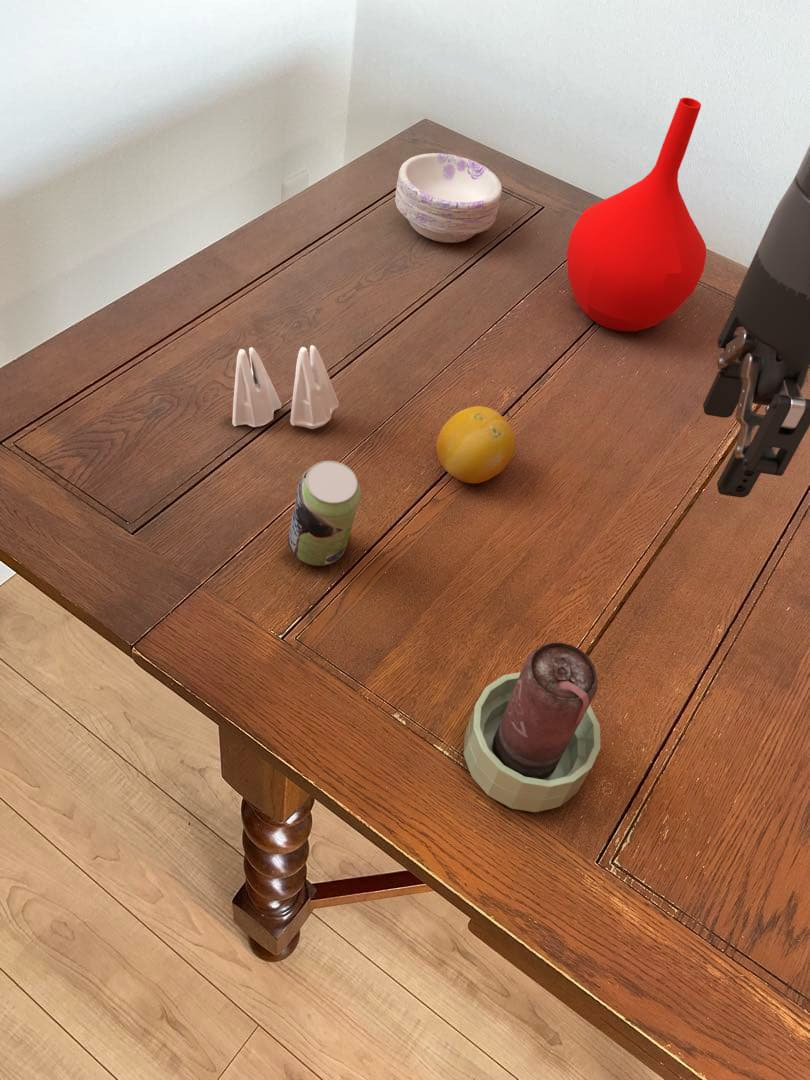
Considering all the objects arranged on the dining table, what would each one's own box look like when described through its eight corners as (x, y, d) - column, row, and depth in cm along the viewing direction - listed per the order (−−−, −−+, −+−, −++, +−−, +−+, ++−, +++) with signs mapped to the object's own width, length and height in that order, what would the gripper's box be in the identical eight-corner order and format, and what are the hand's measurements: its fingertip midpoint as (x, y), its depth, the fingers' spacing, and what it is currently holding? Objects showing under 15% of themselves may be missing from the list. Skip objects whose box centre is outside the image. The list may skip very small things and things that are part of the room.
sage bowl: (581, 713, 92) (598, 682, 88) (584, 823, 85) (602, 795, 81) (466, 694, 92) (477, 662, 88) (458, 803, 84) (470, 774, 80)
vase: (539, 326, 132) (602, 112, 110) (566, 259, 144) (628, 54, 122) (669, 367, 130) (760, 157, 108) (686, 295, 142) (771, 93, 120)
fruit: (476, 508, 108) (490, 456, 102) (419, 471, 111) (430, 419, 105) (518, 468, 113) (534, 417, 107) (462, 434, 116) (475, 382, 110)
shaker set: (337, 414, 115) (346, 339, 107) (335, 438, 112) (344, 363, 104) (236, 402, 114) (236, 326, 106) (231, 426, 111) (231, 350, 103)
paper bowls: (485, 203, 151) (496, 155, 145) (497, 259, 142) (509, 210, 136) (389, 194, 149) (395, 145, 143) (394, 250, 139) (402, 200, 133)
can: (528, 800, 85) (570, 718, 74) (477, 749, 88) (511, 663, 77) (572, 761, 88) (619, 677, 78) (522, 713, 91) (560, 625, 80)
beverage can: (325, 518, 104) (334, 437, 95) (363, 564, 101) (377, 484, 92) (274, 540, 101) (279, 458, 92) (312, 588, 98) (321, 508, 89)
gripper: (909, 342, 55) (788, 530, 67) (854, 210, 64) (757, 396, 76) (780, 321, 54) (682, 514, 67) (744, 192, 64) (664, 381, 76)
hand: (722, 451), depth 71 cm, fingers open, 8 cm apart
